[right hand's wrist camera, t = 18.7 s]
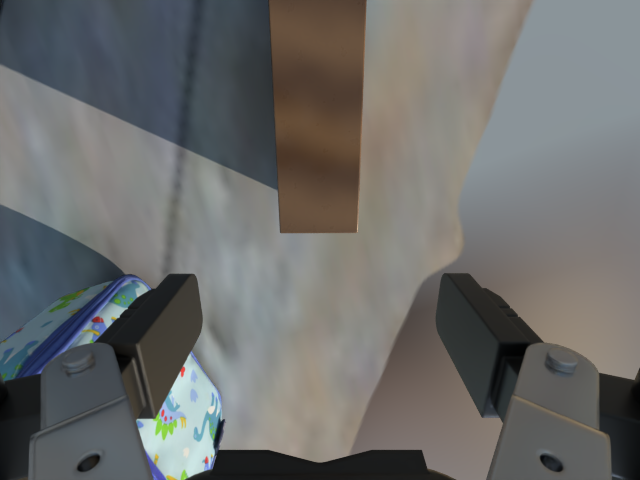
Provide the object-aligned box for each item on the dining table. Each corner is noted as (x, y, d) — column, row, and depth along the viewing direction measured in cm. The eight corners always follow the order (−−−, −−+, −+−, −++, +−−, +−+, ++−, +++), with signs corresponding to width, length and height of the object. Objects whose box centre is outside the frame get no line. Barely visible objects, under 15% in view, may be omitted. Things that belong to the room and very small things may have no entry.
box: (347, 197, 37) (357, 233, 27) (291, 197, 37) (279, 233, 27) (352, -35, 30) (371, -115, 19) (283, -35, 30) (262, -114, 19)
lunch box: (241, 414, 49) (187, 621, 29) (172, 431, 50) (78, 640, 30) (153, 255, 40) (-9, 399, 20) (73, 281, 41) (-153, 439, 21)
